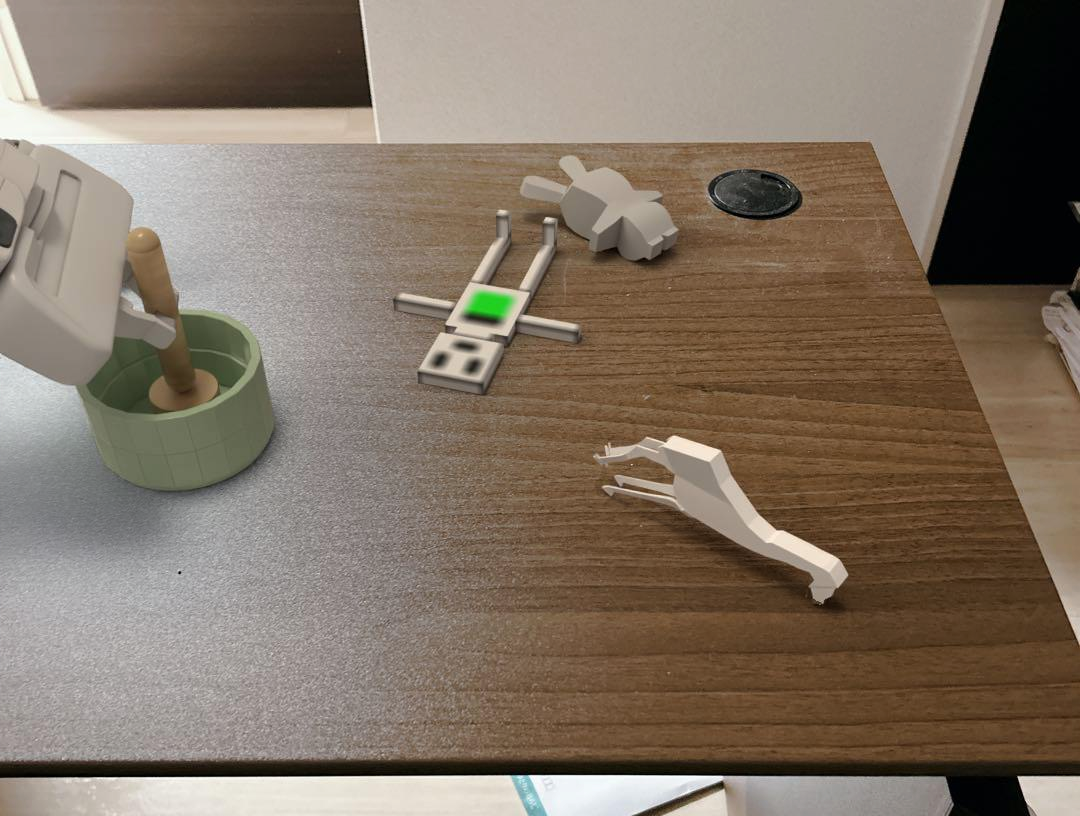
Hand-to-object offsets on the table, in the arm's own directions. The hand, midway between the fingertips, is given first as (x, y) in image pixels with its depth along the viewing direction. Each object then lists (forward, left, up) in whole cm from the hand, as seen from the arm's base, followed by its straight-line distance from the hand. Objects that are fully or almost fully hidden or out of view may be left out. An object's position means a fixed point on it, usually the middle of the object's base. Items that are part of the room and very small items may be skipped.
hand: (173, 322), depth 79 cm
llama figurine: (+38, -8, -11) cm, 41 cm away
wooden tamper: (-1, 0, -8) cm, 8 cm away
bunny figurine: (+29, +32, -11) cm, 45 cm away
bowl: (-1, 0, -10) cm, 10 cm away
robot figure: (+20, +18, -11) cm, 29 cm away
